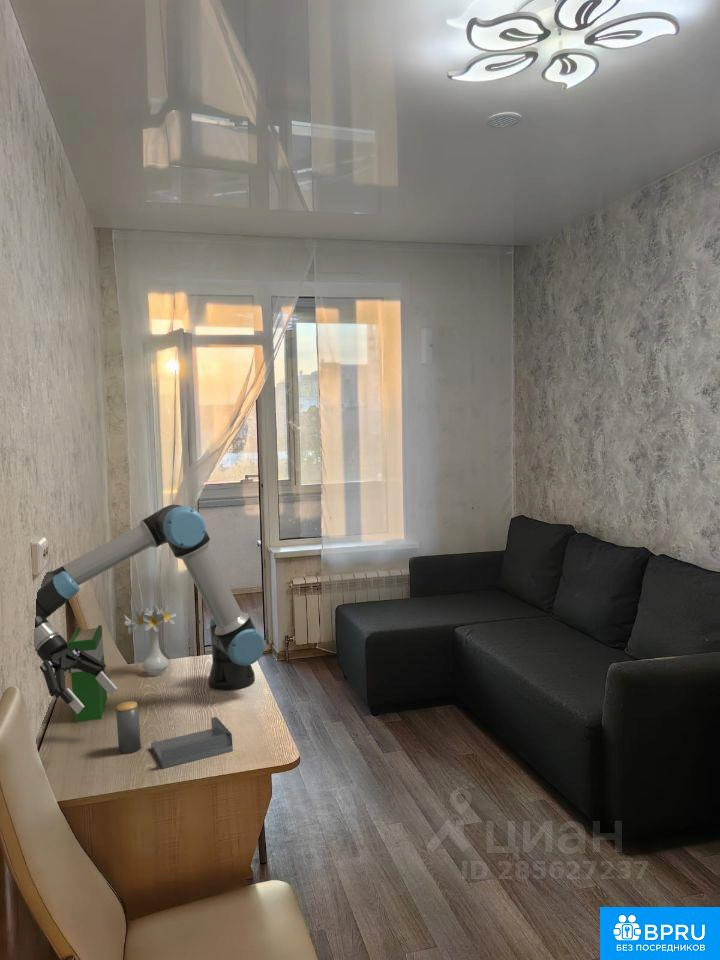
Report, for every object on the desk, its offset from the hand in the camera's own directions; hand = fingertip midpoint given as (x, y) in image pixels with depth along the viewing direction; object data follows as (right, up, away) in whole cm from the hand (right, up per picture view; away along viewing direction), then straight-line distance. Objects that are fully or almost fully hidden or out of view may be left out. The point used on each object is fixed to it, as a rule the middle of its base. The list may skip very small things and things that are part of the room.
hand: (98, 700), depth 197 cm
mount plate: (+26, -12, -4) cm, 29 cm away
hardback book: (-12, -12, +29) cm, 34 cm away
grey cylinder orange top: (+9, -12, -1) cm, 15 cm away
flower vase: (-2, -9, +61) cm, 62 cm away
